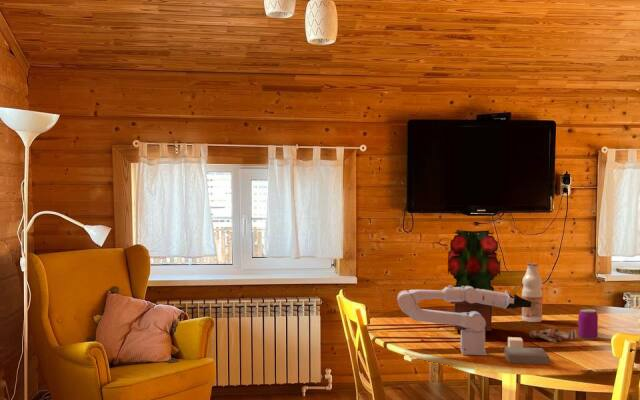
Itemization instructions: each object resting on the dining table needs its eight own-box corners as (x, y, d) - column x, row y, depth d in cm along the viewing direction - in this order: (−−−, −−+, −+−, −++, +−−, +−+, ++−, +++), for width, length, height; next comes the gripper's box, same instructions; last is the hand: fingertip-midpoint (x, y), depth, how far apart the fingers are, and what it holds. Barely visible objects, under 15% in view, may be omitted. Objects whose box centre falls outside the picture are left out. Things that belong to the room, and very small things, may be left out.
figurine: (570, 330, 261) (525, 327, 276) (571, 344, 261) (526, 341, 275) (577, 328, 265) (532, 325, 280) (578, 342, 265) (533, 339, 280)
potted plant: (499, 337, 276) (500, 233, 275) (447, 335, 281) (448, 232, 279) (496, 326, 298) (497, 229, 297) (447, 324, 302) (448, 229, 301)
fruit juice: (518, 320, 311) (518, 263, 311) (527, 317, 318) (528, 261, 317) (536, 323, 304) (536, 264, 304) (545, 320, 311) (546, 263, 310)
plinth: (509, 363, 237) (509, 355, 237) (504, 354, 249) (504, 346, 248) (549, 364, 235) (549, 356, 235) (542, 355, 247) (542, 348, 247)
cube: (509, 352, 252) (509, 340, 252) (507, 349, 257) (507, 337, 257) (522, 353, 251) (523, 340, 251) (520, 349, 256) (520, 337, 256)
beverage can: (586, 340, 271) (586, 312, 271) (574, 336, 279) (574, 308, 279) (601, 339, 274) (601, 311, 273) (589, 335, 281) (589, 308, 281)
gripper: (498, 287, 243) (534, 293, 242) (490, 288, 258) (524, 294, 257) (496, 306, 242) (532, 312, 241) (488, 306, 257) (522, 312, 255)
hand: (528, 304), depth 249 cm, fingers open, 7 cm apart
